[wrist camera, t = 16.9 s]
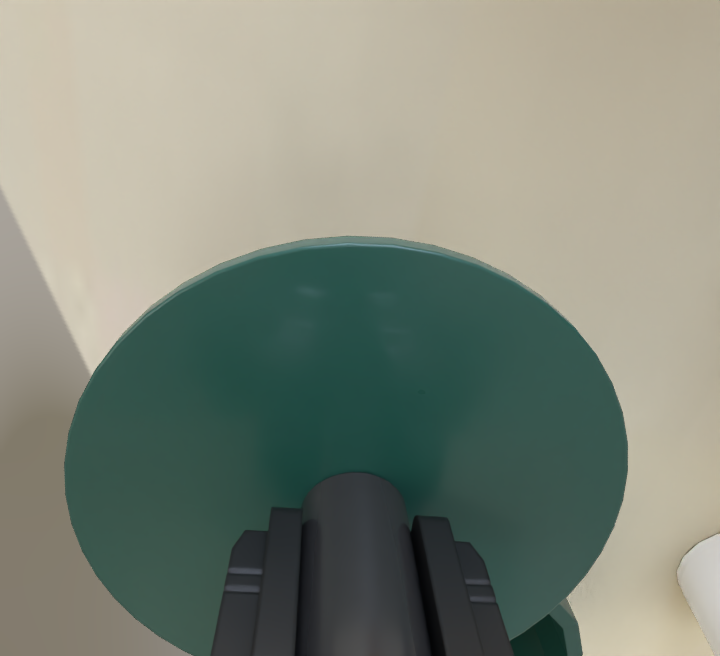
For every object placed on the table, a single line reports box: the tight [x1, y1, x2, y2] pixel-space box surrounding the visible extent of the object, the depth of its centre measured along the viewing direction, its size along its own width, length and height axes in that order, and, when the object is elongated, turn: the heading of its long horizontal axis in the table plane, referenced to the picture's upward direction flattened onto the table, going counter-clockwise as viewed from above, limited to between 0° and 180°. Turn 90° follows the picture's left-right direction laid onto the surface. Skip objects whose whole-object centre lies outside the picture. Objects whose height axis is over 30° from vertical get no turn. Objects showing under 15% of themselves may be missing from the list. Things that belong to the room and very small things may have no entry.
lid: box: [64, 236, 628, 656], centre depth 12 cm, size 14×14×6 cm
